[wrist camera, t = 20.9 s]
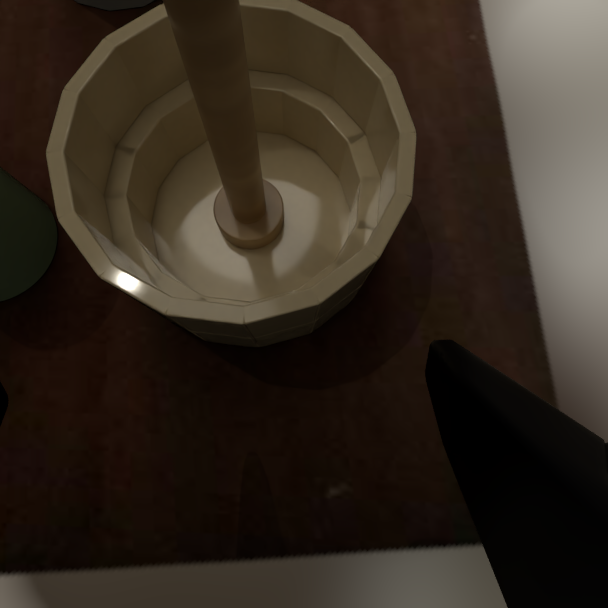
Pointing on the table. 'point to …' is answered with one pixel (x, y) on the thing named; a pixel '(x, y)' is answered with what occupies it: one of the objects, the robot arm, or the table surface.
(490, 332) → the table surface
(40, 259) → the green cylinder pedestal
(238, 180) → the stirring stick
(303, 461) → the table surface
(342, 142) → the mixing bowl
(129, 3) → the cup
